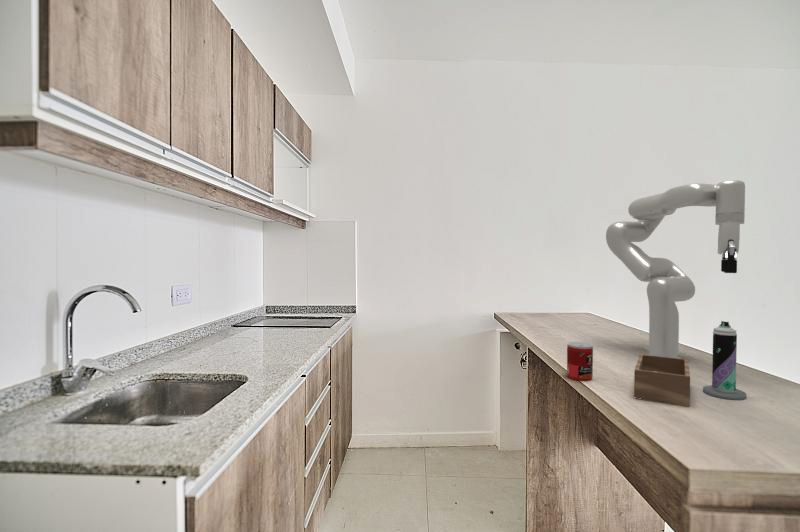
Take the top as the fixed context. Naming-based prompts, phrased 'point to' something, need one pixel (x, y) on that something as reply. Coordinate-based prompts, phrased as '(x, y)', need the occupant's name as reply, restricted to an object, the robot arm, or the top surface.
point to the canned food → (580, 361)
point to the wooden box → (662, 380)
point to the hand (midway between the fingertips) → (728, 272)
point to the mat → (724, 394)
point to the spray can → (724, 358)
